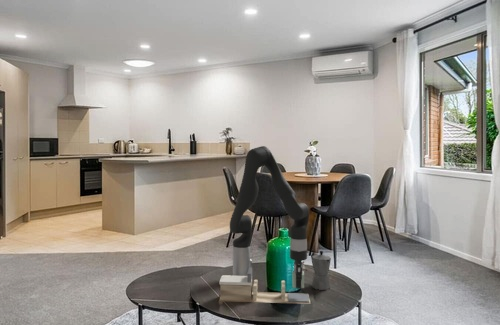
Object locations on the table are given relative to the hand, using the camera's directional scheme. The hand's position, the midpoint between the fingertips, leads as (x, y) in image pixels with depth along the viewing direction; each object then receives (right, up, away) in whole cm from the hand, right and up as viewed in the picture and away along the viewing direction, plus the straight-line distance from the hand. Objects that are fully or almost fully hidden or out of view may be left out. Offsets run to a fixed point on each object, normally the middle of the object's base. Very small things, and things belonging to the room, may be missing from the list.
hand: (298, 285), depth 177 cm
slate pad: (0, -6, 0) cm, 6 cm away
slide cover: (-28, +1, +2) cm, 28 cm away
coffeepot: (+13, -7, +20) cm, 25 cm away
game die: (+5, -6, +35) cm, 36 cm away
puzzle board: (-15, -7, +1) cm, 17 cm away
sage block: (0, 0, 0) cm, 0 cm away
